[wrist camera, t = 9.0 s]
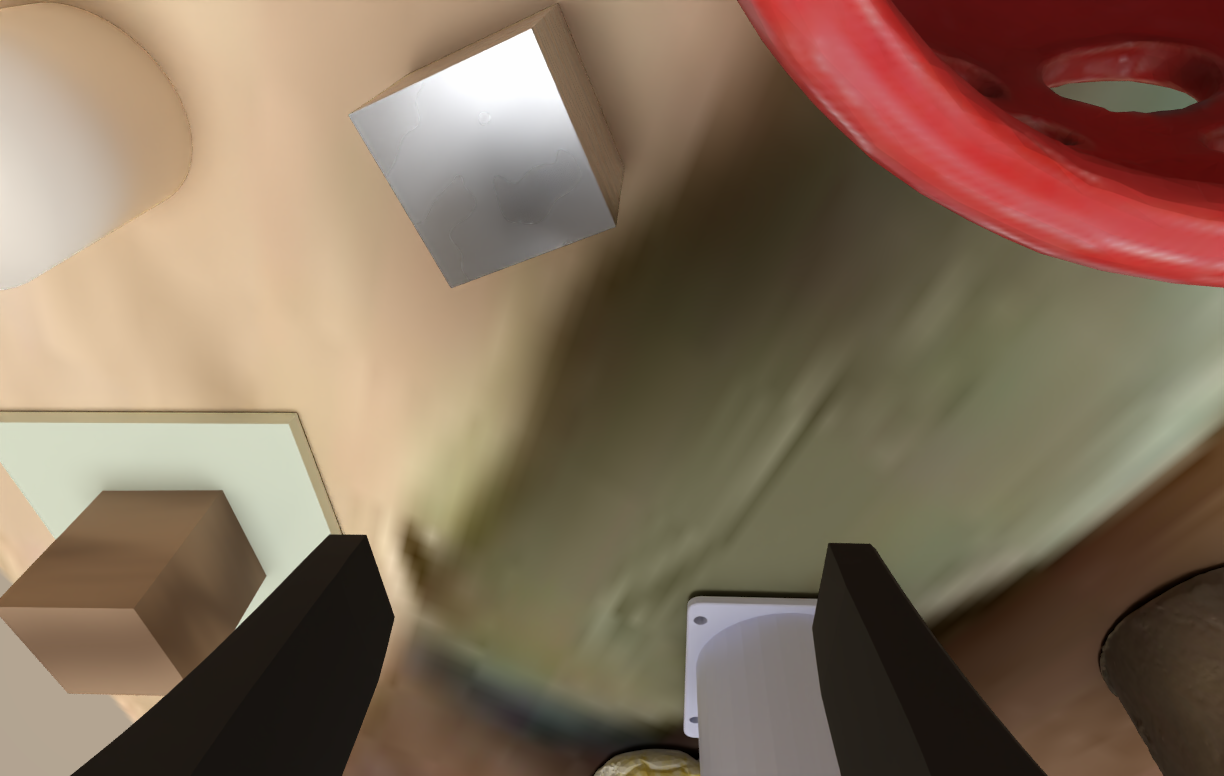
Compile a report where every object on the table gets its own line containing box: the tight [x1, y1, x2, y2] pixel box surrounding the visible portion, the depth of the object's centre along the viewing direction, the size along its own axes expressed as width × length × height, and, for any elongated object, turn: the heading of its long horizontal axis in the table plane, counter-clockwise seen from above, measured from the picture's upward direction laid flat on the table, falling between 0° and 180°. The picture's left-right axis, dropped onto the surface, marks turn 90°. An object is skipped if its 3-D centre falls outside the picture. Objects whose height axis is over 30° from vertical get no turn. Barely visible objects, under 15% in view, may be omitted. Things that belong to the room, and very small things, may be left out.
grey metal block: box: [349, 3, 624, 288], centre depth 16 cm, size 4×4×4 cm
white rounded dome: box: [0, 2, 192, 290], centre depth 16 cm, size 5×5×5 cm
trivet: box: [0, 412, 342, 628], centre depth 26 cm, size 11×11×1 cm
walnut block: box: [0, 490, 266, 696], centre depth 24 cm, size 4×4×5 cm
